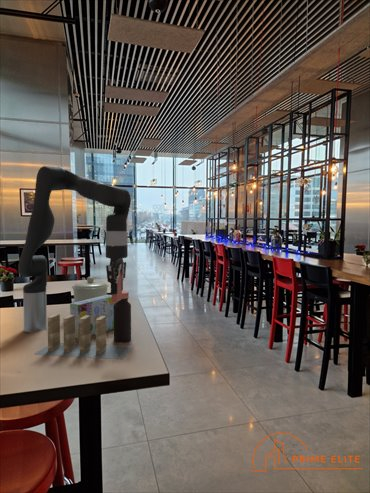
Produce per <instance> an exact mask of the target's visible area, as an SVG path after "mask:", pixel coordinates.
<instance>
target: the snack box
mask: <svg viewBox="0 0 370 493" xmlns="http://www.w3.org/2000/svg"><path fill="white" fill-rule="evenodd" d="M115 303H116V302H112V294H107V295H104V296H100V297H96V298H92V299H87V300H83V301H79V302H75V301H74V302H72V303H69V310H70V314H69V315H75V339H78V340H80V333H79V319H80V318H82V317H84V316H86V315H89V316H90V325H91V336H92V335H94V334H95V335H96V319H97V318H99V317H101V316H106V332H108V331H111V330H114V304H115Z"/></svg>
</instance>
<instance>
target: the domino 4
mask: <svg viewBox="0 0 370 493" xmlns="http://www.w3.org/2000/svg"><path fill="white" fill-rule="evenodd" d="M95 345H96V354H101V353H102V352H103V351H104V350H106V345H107V331H106V316H101V317H99V318H97V319H96V333H95Z"/></svg>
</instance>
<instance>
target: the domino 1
mask: <svg viewBox="0 0 370 493" xmlns="http://www.w3.org/2000/svg"><path fill="white" fill-rule="evenodd" d="M60 343H61V314H60V313H59V314H58V313H55V314H53V315H50V316H47V346H48V351H54V350H55V349H57V348H58V347H60Z"/></svg>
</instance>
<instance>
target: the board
mask: <svg viewBox="0 0 370 493" xmlns="http://www.w3.org/2000/svg"><path fill="white" fill-rule="evenodd" d="M133 348H134V346H128V345H108V344H106V350H104V351H103V352H102V353H101V354H96V344H92V343H91V348H90V349H89V350H88V351H86V352H85V353H80V343H75V348H73V349H72V350H71V351H69V352H64V342H60V347H58V348H57V349H55V350H54V351H48V345H46V346H45V347H43V348H42V349H40V350H39V351H37V352H35V353H34V355H39V356H55V357H57V356H58V357H74V358H75V357H76V358H88V359H89V358H90V359H92V358H93V359H105V360H107V359H109V360H124V358H125V357H126V356H127V355H128V354H129V352H130V351H131V350H132V349H133Z"/></svg>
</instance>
